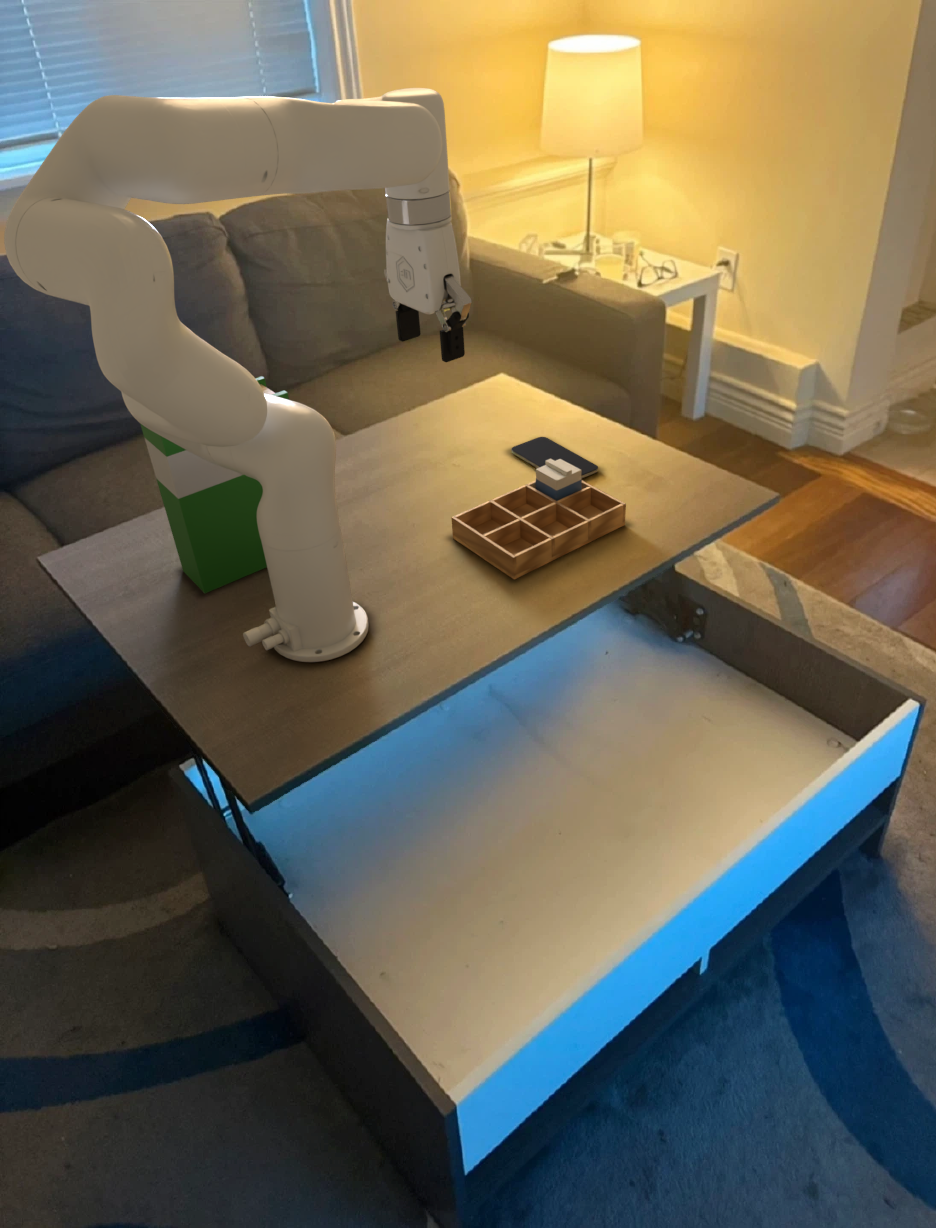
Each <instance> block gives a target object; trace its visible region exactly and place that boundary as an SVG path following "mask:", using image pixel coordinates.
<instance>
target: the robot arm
mask: <svg viewBox="0 0 936 1228" xmlns="http://www.w3.org/2000/svg"><path fill="white" fill-rule="evenodd" d="M446 126H447V125H446V112H445V103H444V99H443V97H442V95H441V94H440V93H439V92H438V91H437V90H435V89H432V88H428V87H406V88H399V89H394V90H390V91H387V92H385V93H383V94H382V95H381V96H375V97H366V98H345V99H340V100H336V101H334V102H323V101H316V100H308V99H304V98H303V99H302V98H294V97H282V96H268V95H267V96H266V95H265V96H263V95H262V96H261V95H259V96H257V95H256V96H235V97H234V96H233V97H232V96H231V97H228V96H227V97H150V96H135V95H122V94H121V95H120V94H111V95H110V94H109V95H104V96H101V97H98V98H96V99H95V100H93V101H91V102H89V104H88V105H87V106H85V107H84V109H83V110H81V112H79V114H78V115H76V117H75V118H74V119H73V120H72V121H71V123H70V124H69V126H67V128H66V129H65V130H64V132H63V133H62V135H61V136H60V137H59V139H58V140H57V142H56V143H55V144H54V146H53V147H52V149H51V150H50V151H49V153H48V154H47V156H46V157H45V158H44V160H43V161H42V163H41V165H40V166H39V168H37V170H36V172H35V173H34V175H33V176H32V177H31V179H30V180H29V181H28V183H27V184H26V186H25V187H24V189H23V190H22V192H21V193H20V195H19V196H18V198H17V199H16V201H15V203H14V204H13V206H12V208H11V210H10V212H9V214H8V216H7V219H6V223H5V229H4V234H3V235H4V236H3V238H4V239H3V243H4V249H5V255H6V258H7V260H8V262H9V265H10V266H11V268H12V270H13V271H14V273H15V274H16V276H17V277H18V278H20V280H21V281H23V283H25V284H26V285H28V286H29V287H31V288H32V289H34V290H36V291H37V292H40V293H42V294H45V295H47V296H51V297H54V298H58V299H63V300H66V301H70V302H73V303H78V304H82V305H85V306H88V307H89V311H90V323H91V324H90V325H91V335H92V341H93V347H94V351H95V356H96V361H97V363H98V367H99V368H100V370H101V373H102V374H103V376H104V377H105V378H106V380H108V382H109V383H110V384H112V385H113V386H114V388H116V389H117V390H119V391H120V392H121V396H122V399H123V402H124V405H125V406H126V408H127V411H128V412H129V413H130V415H132V417H133V418H134V419H135V420H136V421H137V422H138V423H139V424H140V423H141V424H142V425H143V426H145V427H146V428H148V429H150V430H151V431H153V432H155V433H157V434H158V435H160V436H162V437H164V438H166V439H167V440H169V441H171V442H173V443H175V444H177V445H178V446H180V447H182V448H184V449H186V450H188V451H189V452H191V453H193V454H195V455H197V456H199V457H201V458H203V459H205V460H207V461H209V462H211V463H213V464H216V465H218V466H221V467H224V468H227V469H230V470H233V471H236V472H238V473H241V474H244V475H246V476H248V477H251V478H253V479H256V480H257V481H259V482H260V484H261V485H262V488H263V494H262V497H261V500H260V502H259V505H258V508H257V525H258V530H259V535H260V538H261V542H262V546H263V551H264V555H265V560H266V564H267V567H266V568H267V572H268V573H267V574H268V577H269V581H270V587H271V590H272V596H273V599H274V604H275V606H274V607H272V608H269V609H268V611H269V616H270V618H267V619H265V620H264V623H263V624H261V625H259V626H255V627H253V628H251V629H249V630H247V631H244V632H242V637H243V640H244V642H245V643H246V645H247V646H248V647H250V648H251V647H252V646H255V645H257V644H259V643H261V644H262V647H263V648H264V650H266V651H269V650H271V649H274V650H275V651H276V652H277V654H279V655H280V656H282V657H284V658H285V659H289V660H291V661H295V662H302V663H318V662H319V663H320V662H326V661H329V660H330V661H331V660H334V659H337V658H340V657H342V656H344V655H347V654H348V653H350V652H351V651H353V650H354V649H356V648H357V647H358V646H359V645H360V644H361V643H362V642H363V641H364V639H365V638H366V637H367V634H368V632H369V627H370V626H369V623H370V622H369V617H368V614H367V612H366V610H365V609H364V608H363V607H362V606H361V605H360V604H358V603H357V602H355V601H353V594H352V589H351V582H350V576H349V569H348V565H347V563H348V562H347V559H346V553H345V552H346V551H345V545H344V539H343V532H342V528H341V527H342V526H341V522H340V517H339V509H338V502H337V494H336V493H337V492H336V459H337V458H336V457H337V442H336V441H337V440H336V435H335V432H334V429H333V428H332V426H331V423H330V422H329V421H328V419H327V418H325V416H324V415H322V414H321V413H320V412H319V411H318V410H316V409H315V408H312V407H310V406H308V405H306V404H304V403H301V402H299V401H295V400H291V399H289V400H288V399H284V398H281V397H278V396H274V395H270V394H265V393H264V392H263V390H262V388H261V386H260V384H259V383H258V381H257V380H256V379H255V378H256V377H255V376H254V375H253V374H252V373H251V372H250V371H249V370H248V369H247V368H245V366H242V365H241V364H240V363H239V362H237V361H236V360H234V359H233V358H232V357H229V356H228V355H226V354H225V353H223V352H221V351H220V350H219V349H217V348H216V347H214V345H211V344H210V343H209V342H207V341H206V340H204V339H203V338H202V337H200V336H199V335H198V334H196V333H195V332H193V331H192V330H191V329H190V328H189V327H187V325H185V324H184V323H183V322H182V321H181V320H180V318H179V316H178V312H177V308H176V302H175V301H176V300H175V274H174V266H173V259H172V256H171V253H170V251H169V248H168V245H167V244H166V242H165V240H164V238H163V236H162V235H161V233H160V232H159V231H158V230H157V228H155V226H153V224H151V223H150V222H149V221H148V220H146V219H145V218H144V217H142V216H140V215H138V214H137V213H134V212H132V211H130V210H127V209H126V207H127V206H128V204H129V203H130V201H131V200H132V199H137V200H144V201H151V202H155V203H162V204H171V205H195V204H202V203H203V204H204V203H210V202H220V201H226V200H237V199H244V198H253V197H260V196H270V195H271V196H272V195H285V194H287V195H288V194H289V195H290V194H291V195H298V194H299V195H300V194H315V193H326V192H336V191H352V190H353V191H358V190H376V189H384V192H385V201H386V211H387V219H386V226H385V227H386V228H385V262H386V264H385V265H386V267H385V268H384V269H383V274H384V277H385V280H386V282H387V290H388V294H389V296H390V298H392V304H391V305H392V308H393V310H394V311H395V320H396V328H397V338H398V340H399V341H400V342H402V343H403V342H406V341H409V340H412V339H416V338H419V337H420V336H421V324H420V322H421V321H420V313H422V314H424V315H433V314H435V315H436V317H437V320H438V321H439V324H440V326H441V328H442V329H441V330H439V343H440V354H441V355H440V356H441V361H442V362H444V363H450V362H452V361H455V360H458V359H461V358H463V357H464V356H465V355H466V354H465V353H466V352H465V351H466V350H465V336H464V335H465V333H464V327H466V326H467V321H468V319H470V310H471V307H472V302H473V301H472V298H471V297H470V295H469V294H468V293H467V291H466V290H465V289H464V288H463V287H462V284H461V271H460V262H459V255H458V247H457V242H456V236H455V232H454V228H453V224H452V220H453V218H452V201H451V189H450V173H449V171H450V170H449V158H448V157H449V156H448V142H447V141H448V139H447V128H446ZM448 311H451V315H450V316H449V318H448V316H447V314H446V312H448ZM419 312H420V313H419ZM141 424H140V425H141Z"/></svg>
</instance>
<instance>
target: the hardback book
mask: <svg viewBox="0 0 936 1228" xmlns="http://www.w3.org/2000/svg"><path fill="white" fill-rule="evenodd" d="M254 378H255V379H256V380H257V381H258V383H259V384H260V386H261V388H262V390H263V392H264V393H265V394H270V395H274V396H278V397H281V398H284V399H288V400H290V398H289V393H288V391H286V390H280V391H278V392H274V391H273V390H272V389H270V388H268V386H267V383H266V382H267V381H266V378H265V377H264V376H262V375H261V376H257V377H254ZM139 424H140V427H141V432H142V434H143V438H144V442H145V445H146V448H147V452H148V455H149V458H150V462H151V465H152V469H153V472H154V476H155V479H156V482H157V485H158V490H159V493H160V497H161V500H162V503H163V507H164V510H165V513H166V517H167V521H168V524H169V527H170V531H171V533H172V537H173V541H174V545H175V547H176V548H175V549H176V551H177V554H178V555H177V556H178V558H179V561H180V565H181V569H182V571H183V573H184V574H185V575H186V576H187V577H188V578H189V579H190V580H191V581H192V582H193V583H194V584H195V585H196V586H197V588H199V589H200V590H201V591H202V592H203V593H204V594H207V593H209V592H213V591H214V590H217V589H219V588H222V587H223V586H226V585H229V584H231V583H233V582H236V581H238V580H240V579H242V578H245V577H248V576H249V575H252V574H254V573H257V572H260V571H261V570H264V569H266V568H267V564H266V560H265V555H264V551H263V546H262V542H261V538H260V535H259V530H258V525H257V508H258V505H259V502H260V500H261V497H262V494H263V488H262V485H261V484H260V482H259V481H257V480H256V479H253V478H251V477H248V476H246V475H244V474H241V473H238V472H236V471H233V470H230V469H227V468H224V467H221V466H218V465H216V464H213V463H211V462H209V461H207V460H205V459H203V458H201V457H199V456H197V455H195V454H193V453H191V452H189V451H188V450H186V449H184V448H182V447H180V446H178V445H177V444H175V443H173V442H171V441H169V440H167V439H166V438H164V437H162V436H160V435H158V434H157V433H155V432H153V431H151V430H150V429H148V428H146V427H145V426H143V425H142V424H141V423H139Z"/></svg>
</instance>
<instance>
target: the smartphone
mask: <svg viewBox="0 0 936 1228" xmlns="http://www.w3.org/2000/svg"><path fill="white" fill-rule="evenodd" d="M511 454H513V455H514V456H516V457H518V458H519V459H521V460H523V461H524V462H526V463H527V464H529V465H531V466H532V467H534V468H536V469H537V468H540V467H542V466H544V465H546V460H548V459H552V460H554V461H556V460H558V459H562V460H563V461H565V462H567V463H569V464H571V465H573V466H575V467H577V468H579V469H580V470H581V480H583V479H584V478H586V477H589V476H591V475H594V474H597V473H598V471H599V466H598V465H597V464H595V463H593V462H592V461H590V460H588V459H586V458H585V457H583V456H581V455H579V454H577V453H575V452H574V451H571V450H570V449H568V448H566V447H564V446H563V445H561V444H559V443H558V442H556V441H553V440H552V439H550V438H548V437H546V436H540V437H535V438H533V439H530V440H528V441H525V442H522V443H520V444H517V445H514V446H513V447H511Z"/></svg>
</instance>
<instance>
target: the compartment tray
mask: <svg viewBox="0 0 936 1228" xmlns="http://www.w3.org/2000/svg"><path fill="white" fill-rule="evenodd" d="M626 512H627V503H625V502H624V501H622V500H620V499H618V498H616V497H615V496H612V495H611V494H609V493H607V492H606V491H603V490H601V489H599V488H598V487H596V486H594V485H591V484H589V483H588V482H587V481H584V480H582V488H581V490H580V491H578V492H576V493H573V494H571V495H569V496H567V497H565V498H562V499H560V500H558V501H556V500H554V499H552V498H550V497H549V496H547V495H545V494H543V493H542V492H540V491H538V490H536V479H535V480H532V481H531V482H530V481H529V482H528V483H526V484H524V485H521V486H518V487H517V488H514V489H512V490H510V491H508V492H505V493H503V494H500V495H498V496H497V497H494V498H492V499H490V500H488V501H485V502H483V503H481V504H478V505H476V506H474V507H471V508H469V509H466V510H464V511H462V512H460V513H458V514H456V515H453V516H451V518H450V519H451V528H452V531H451V532H452V539H453V540H455V541H457V542H458V543H459V544H461V545H462V546H464V547H465V548H467V549H468V550H470V551H471V552H473V553H474V554H475V555H477V556H478V557H480V558H481V559H483V561H486V562H487V563H488V564H490V565H492V566H493V567H494V568H496V569H498V570H499V571H500V572H501V573H503V574H505V575H506V576H508V577H509V578H511V579H512V580H515V581H516V579H519V578H520V577H523V576H524V575H527V574H528V573H531V572H533V571H535V570H537V569H539V568H541V567H543V566H545V565H547V564H549V563H551V562H553V561H555V560H557V559H559V558H561V557H563V556H565V555H567V554H569V553H571V552H573V551H575V550H577V549H579V548H581V547H584V546H585V545H587V544H590V543H592V542H594V541H595V540H597V539H600V538H602V537H603V536H606V535H607V534H609V533H612V532H614V531H616V530H618V529H619V528H621V527H624V526H625V525H626V516H627V515H626V514H627V513H626Z"/></svg>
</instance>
